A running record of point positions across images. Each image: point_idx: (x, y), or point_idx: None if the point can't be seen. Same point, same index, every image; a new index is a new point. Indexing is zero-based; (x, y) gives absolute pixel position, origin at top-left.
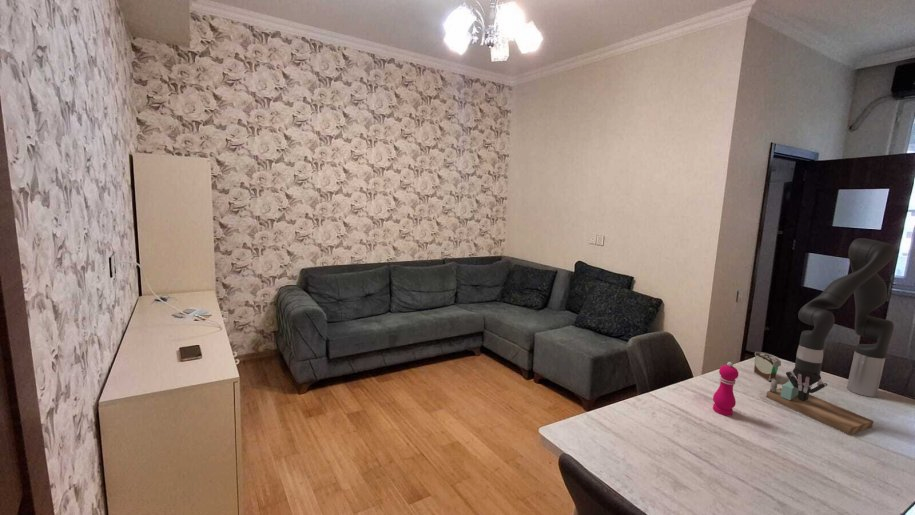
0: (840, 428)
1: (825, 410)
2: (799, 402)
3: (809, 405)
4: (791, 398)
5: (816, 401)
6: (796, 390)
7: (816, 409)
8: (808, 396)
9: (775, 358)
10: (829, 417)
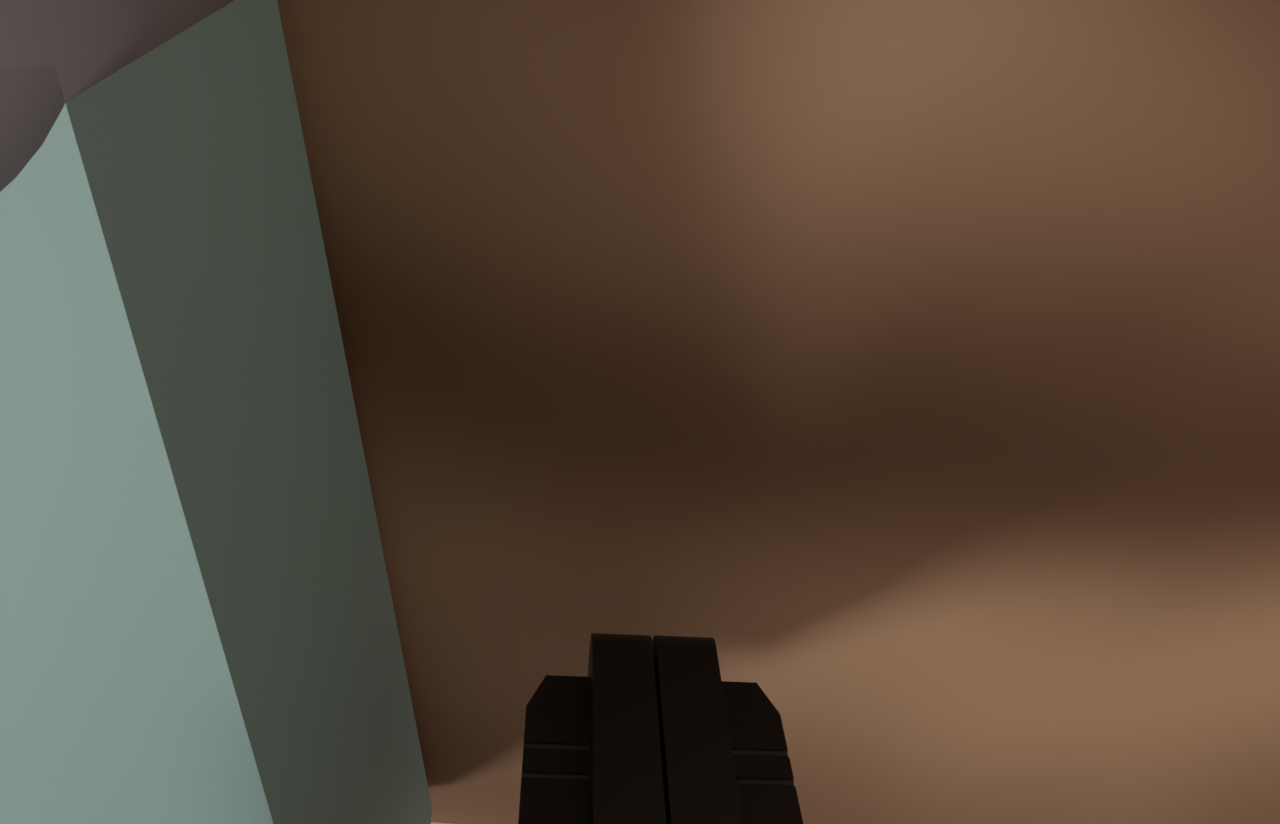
0: None
1: (1164, 532)
2: None
3: (812, 608)
4: (416, 770)
5: (860, 95)
6: (324, 628)
7: (989, 676)
8: (793, 793)
9: None
10: (1264, 802)
